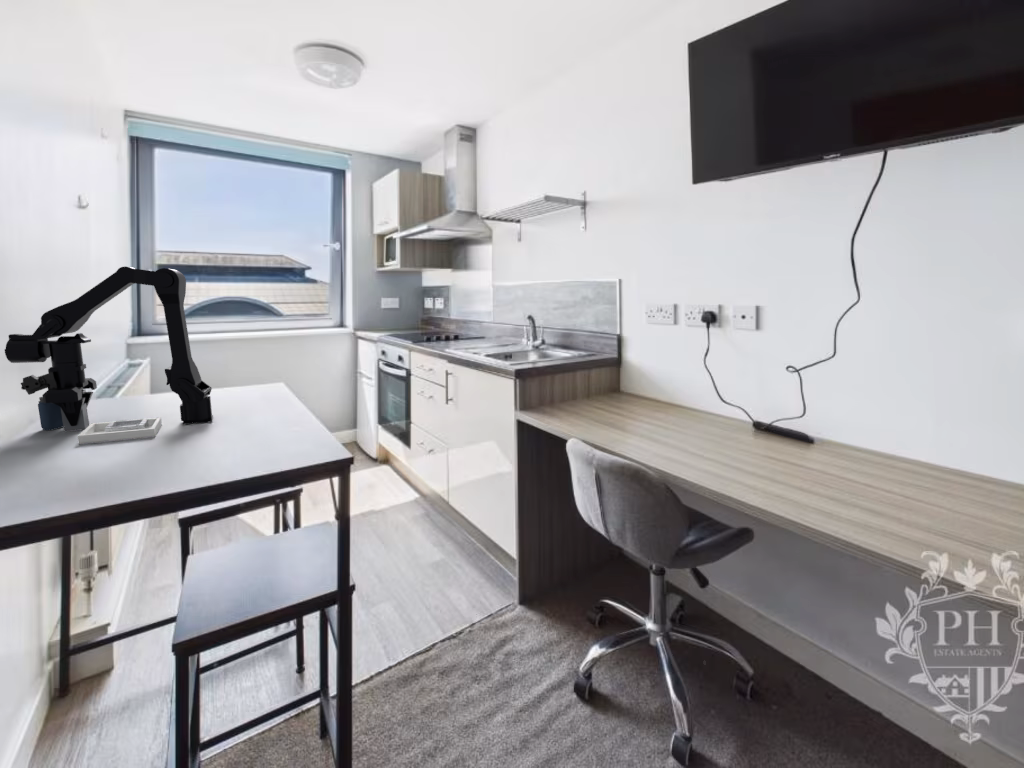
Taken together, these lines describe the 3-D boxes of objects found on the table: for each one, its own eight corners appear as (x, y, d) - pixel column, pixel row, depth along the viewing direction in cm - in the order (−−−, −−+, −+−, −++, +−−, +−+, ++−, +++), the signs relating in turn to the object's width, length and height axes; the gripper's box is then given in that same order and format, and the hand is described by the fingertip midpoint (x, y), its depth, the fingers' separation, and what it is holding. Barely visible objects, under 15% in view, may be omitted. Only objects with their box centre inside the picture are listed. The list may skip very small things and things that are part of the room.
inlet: (149, 427, 124) (148, 418, 124) (144, 434, 118) (143, 425, 117) (112, 430, 121) (111, 421, 120) (105, 438, 114) (104, 428, 114)
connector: (89, 425, 126) (85, 399, 124) (85, 429, 122) (81, 402, 121) (68, 427, 124) (65, 401, 123) (64, 431, 120) (60, 404, 119)
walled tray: (161, 425, 127) (161, 417, 127) (155, 436, 117) (154, 428, 117) (92, 431, 121) (91, 423, 120) (78, 444, 110) (77, 435, 110)
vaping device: (69, 425, 126) (62, 379, 124) (48, 430, 120) (41, 382, 118) (60, 425, 126) (53, 378, 124) (38, 430, 121) (31, 382, 119)
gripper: (36, 358, 124) (46, 418, 127) (6, 368, 108) (18, 437, 111) (93, 356, 130) (101, 414, 132) (72, 366, 113) (82, 431, 116)
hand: (76, 423), depth 123 cm, fingers closed on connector, 4 cm apart
